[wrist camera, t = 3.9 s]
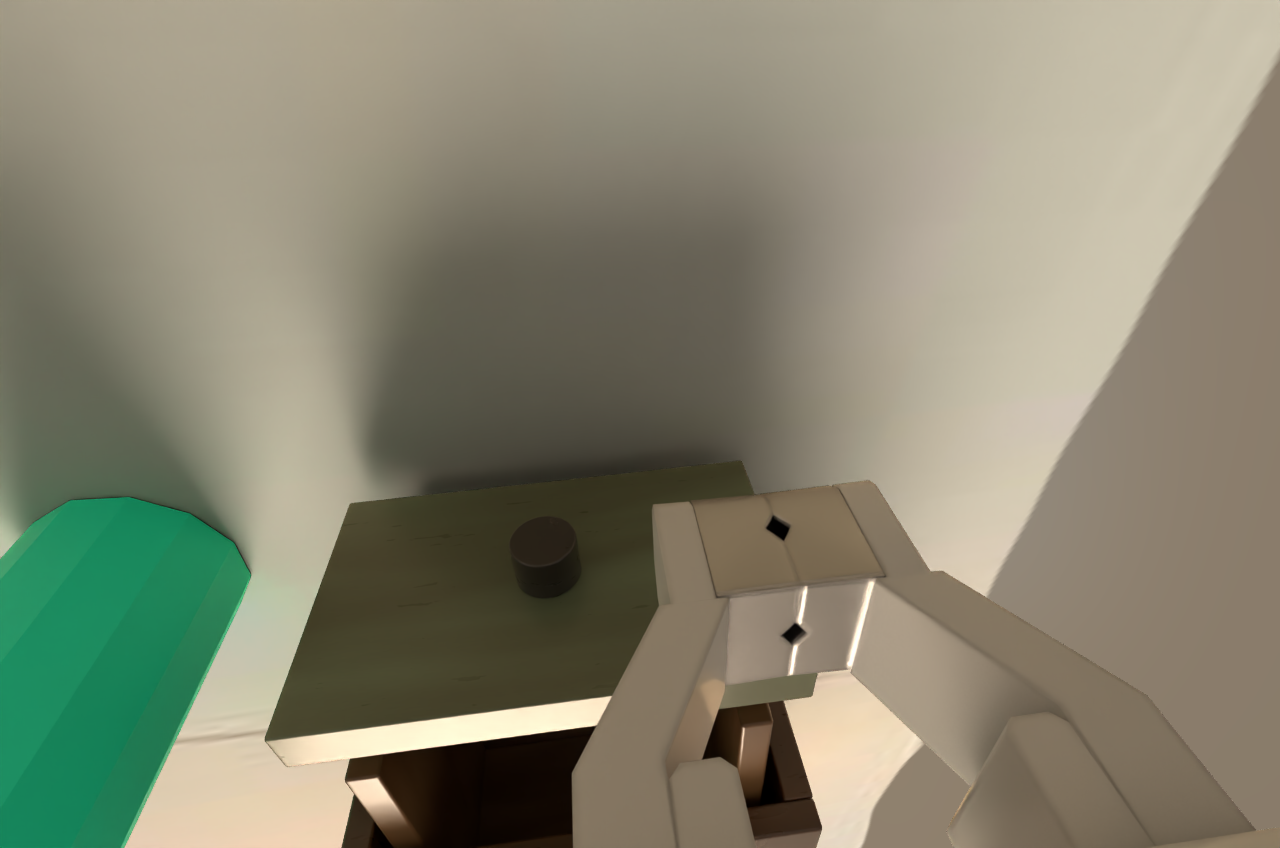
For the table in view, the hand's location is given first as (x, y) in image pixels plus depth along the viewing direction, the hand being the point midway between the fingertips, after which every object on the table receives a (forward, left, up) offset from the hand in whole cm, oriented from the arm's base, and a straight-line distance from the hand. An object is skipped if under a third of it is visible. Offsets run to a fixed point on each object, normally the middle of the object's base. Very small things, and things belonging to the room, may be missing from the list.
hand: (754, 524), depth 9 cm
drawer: (+12, -4, -8) cm, 15 cm away
